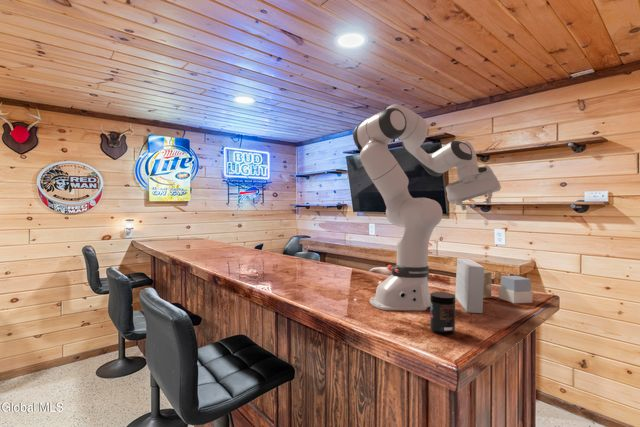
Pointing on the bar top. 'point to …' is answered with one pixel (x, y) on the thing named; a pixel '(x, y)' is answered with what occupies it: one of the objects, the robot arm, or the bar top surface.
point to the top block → (515, 283)
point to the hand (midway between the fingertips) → (476, 206)
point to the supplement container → (442, 313)
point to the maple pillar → (487, 284)
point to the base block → (515, 296)
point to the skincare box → (470, 285)
